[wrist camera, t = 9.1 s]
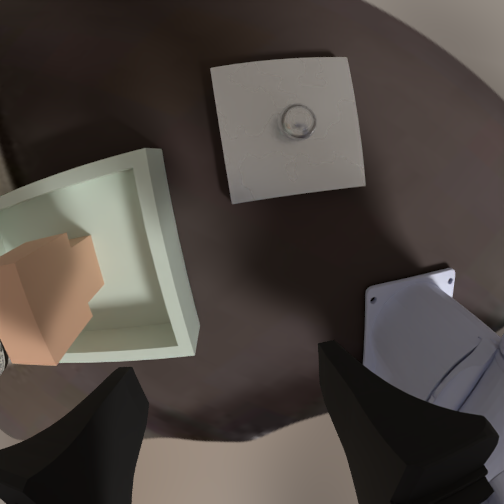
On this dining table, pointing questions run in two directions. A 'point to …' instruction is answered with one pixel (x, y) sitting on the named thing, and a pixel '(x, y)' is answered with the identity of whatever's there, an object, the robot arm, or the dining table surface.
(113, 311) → the parts bin
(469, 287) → the dining table surface
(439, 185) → the dining table surface
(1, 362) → the ink bottle
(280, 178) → the stud plate
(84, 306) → the light orange block
